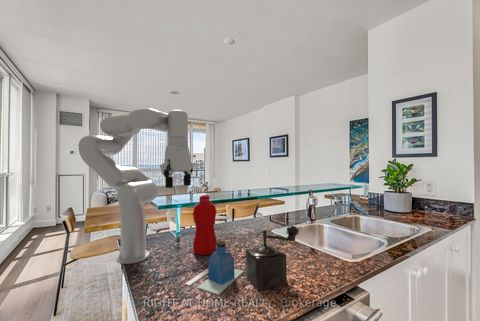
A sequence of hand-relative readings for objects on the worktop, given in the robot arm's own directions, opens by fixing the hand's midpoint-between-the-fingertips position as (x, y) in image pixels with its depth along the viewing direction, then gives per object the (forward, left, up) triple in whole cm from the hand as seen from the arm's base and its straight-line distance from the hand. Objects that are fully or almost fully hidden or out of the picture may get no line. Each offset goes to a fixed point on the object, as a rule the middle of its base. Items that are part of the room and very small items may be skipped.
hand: (178, 186), depth 88 cm
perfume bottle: (+21, -2, -30) cm, 37 cm away
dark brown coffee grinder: (+36, +6, -31) cm, 48 cm away
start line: (+13, -2, -30) cm, 33 cm away
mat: (+21, -2, -30) cm, 37 cm away
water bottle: (0, +15, -31) cm, 34 cm away
